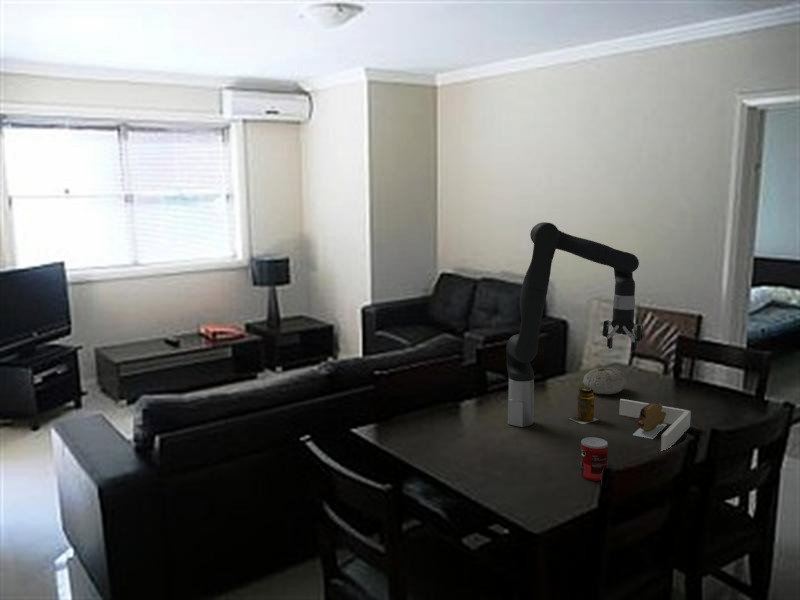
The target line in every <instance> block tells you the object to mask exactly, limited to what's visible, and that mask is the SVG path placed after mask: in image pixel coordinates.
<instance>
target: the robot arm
mask: <svg viewBox="0 0 800 600" xmlns="http://www.w3.org/2000/svg"><path fill="white" fill-rule="evenodd" d="M529 235H530V240H531V241H532V243H533V249H532V256H531V261H530V263H529V266H528V269H527V271H526V273H525V275H524V279H523V282H522V285H521V291H520V296H519V308H520V309H519V310H520V320H521V322H520V330H519V332H518V334H514V335H512V336H511V337H509V339H508V341H507V343H506V353H505V354H506V369H507V372H508V400H507V425H511V426H514V427H519V428H520V427H521V428H524V427H528V426H532V425H533V424H534V408H535V407H534V400H535V399H534V394H535V393H534V391H535V390H534V389H535V372H534V369H533V367H532V365H531V362H532V361H533V360H534V359H535V358H536V356H537V354H538V350H539V339H540V330H541V329H540V328H541V324H542V320H543V313H544V307H545V304H546V300H547V297H548V291H549V284H550V278H551V270H552V265H553V260H554V256H555V254H556V253H555V252H556V250H560V251H564V252H566V253H569V254H572V255H575V256H576V257H580V258H581V259H585V260H587V261H590V262H593V263H596V264H599V265H604V266H607V267H610V268H613V273H614V274H613V275H614V282H615V284H614V295H613V300H612V301H613V303H612V304H613V305H612V320H611V321H610V320H609V319H607V320H604V321H603V325H602V337H605V338H606V340H607V341H606V347H607V348H608V349H610V350H611V349H613V345H614V344H613V343H614V342H613V339H614V338H613V337H614V336H615V335H616V334H617V335H624V336H626V335H627V337H628V338H629V339H630V340H631V341H630V342H631V344H630V352H631V353H634V352H635V351H637V347H638V342H641V341H642V340H643V339H644V338H643V335H644V334H643V333H644V332H643V331H644V329H643V326H644V325H643V324H642V323H641V324H635V308H636V298H635V297H636V296H635V294H636V293H635V292H636V282H635V280H634V277H633V275H634V273H633V272H636V270H637V269H638V268H639V266H640V260H639V259H638V257H637V256H636V255H635V254H634V253H631V252H627V251H623V250H620V249H615V248H613V247H611V246H609V245H607V244H604V243H601V242H597V241H594V240H590V239H586V238H582V237H578V236H575V235H571V234H568V233H566V232H564V231H561V230H560V229H558V227H557V226H556V225H555V224H553V223H552V222H546V221H545V222H544V221H543V222H539V223H537V224H535V225H534V226H532V228H531V230H530V234H529ZM610 326H611V327H612V330H611V331H610V332H609V327H610ZM634 329H635V331H636V332H634V331H633V330H634ZM635 333H636V334H635Z"/></svg>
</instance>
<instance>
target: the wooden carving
mask: <svg viewBox="0 0 800 600" xmlns="http://www.w3.org/2000/svg"><path fill="white" fill-rule="evenodd" d="M662 406H663V404H662V403H660V402H656V403H655V402H649V404H648V405H646V406H645V407H643V408H642V409H641V412H640V416H639V418H635V419H634V422H636V423H637V424H636V427H637V428H638V429H639V428H641V429H643V430H645V431H651V430H653V429H655V428H656V427H657V426H658V425H661V424H664V423H663V421H664V418H665V416H666V413H665V412H663V411H661V410H662Z"/></svg>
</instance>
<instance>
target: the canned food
mask: <svg viewBox="0 0 800 600" xmlns="http://www.w3.org/2000/svg"><path fill="white" fill-rule="evenodd" d="M608 451H609V443H608V441H607V440H605V439H603V438H600V437H593V436H592V437H591V436H589V437H584V438H582V439H581V442H580V475H581V477H582V478H583V479H586V480H587V481H588V480H589V481H594V482H595V481H596V482H599V481H601V480H600V478H601V473H602V470H603V468H604V467H606V466H607V467H608V456H609V455H608V453H609V452H608Z"/></svg>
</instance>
